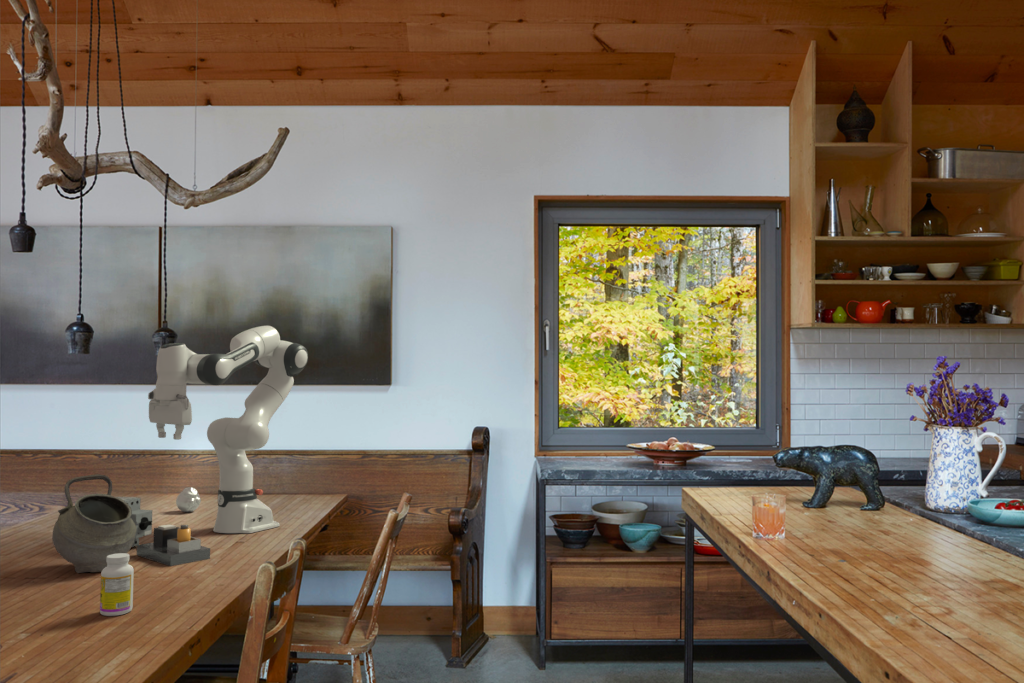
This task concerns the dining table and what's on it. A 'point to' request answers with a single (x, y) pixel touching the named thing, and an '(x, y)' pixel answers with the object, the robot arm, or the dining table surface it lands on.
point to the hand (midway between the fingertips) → (169, 438)
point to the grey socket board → (173, 549)
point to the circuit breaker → (139, 518)
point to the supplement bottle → (116, 586)
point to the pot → (93, 528)
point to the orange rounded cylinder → (183, 533)
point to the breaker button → (166, 527)
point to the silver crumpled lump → (188, 500)
